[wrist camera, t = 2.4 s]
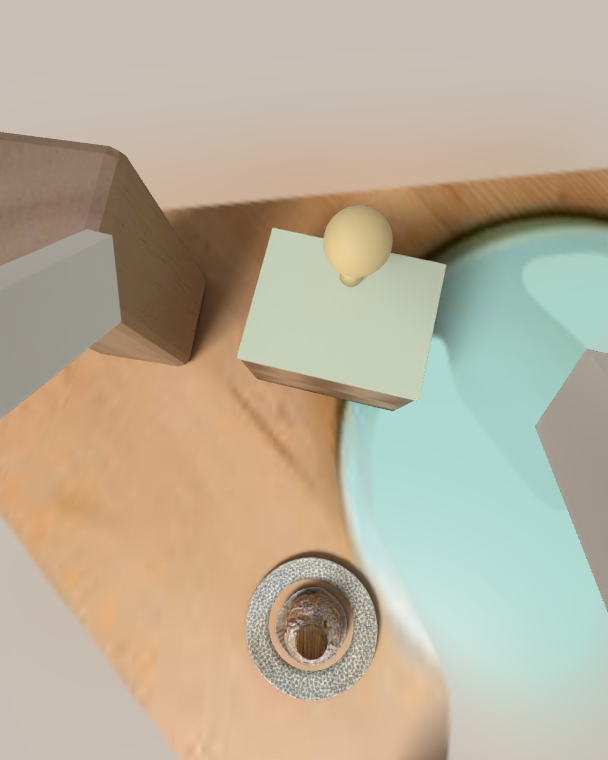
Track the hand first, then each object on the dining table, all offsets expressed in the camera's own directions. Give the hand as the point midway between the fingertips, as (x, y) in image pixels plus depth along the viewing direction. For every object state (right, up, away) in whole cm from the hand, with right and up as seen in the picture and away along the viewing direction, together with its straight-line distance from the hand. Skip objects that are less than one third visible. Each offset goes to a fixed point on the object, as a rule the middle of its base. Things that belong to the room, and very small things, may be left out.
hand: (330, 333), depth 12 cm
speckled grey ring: (0, -24, +27) cm, 36 cm away
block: (-16, +5, +32) cm, 37 cm away
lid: (+2, +4, +22) cm, 22 cm away
